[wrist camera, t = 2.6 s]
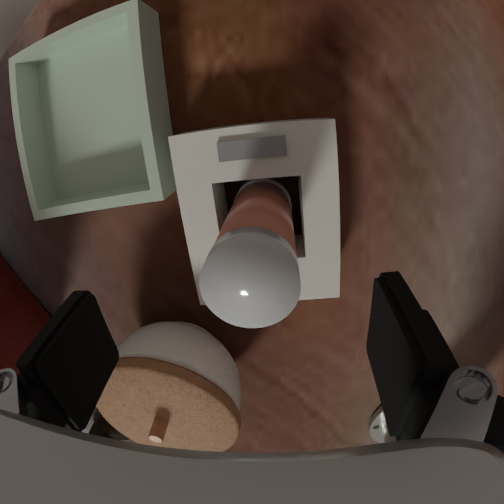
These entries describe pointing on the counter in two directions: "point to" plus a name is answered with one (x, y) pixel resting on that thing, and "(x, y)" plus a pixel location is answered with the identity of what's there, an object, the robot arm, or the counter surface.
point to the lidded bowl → (174, 389)
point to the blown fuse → (254, 259)
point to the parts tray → (94, 114)
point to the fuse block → (257, 167)
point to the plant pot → (17, 317)
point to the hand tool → (106, 430)
